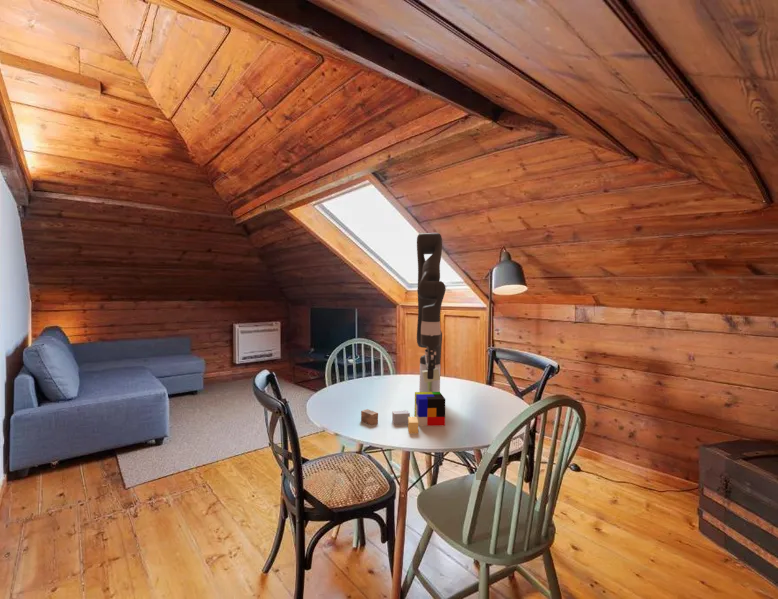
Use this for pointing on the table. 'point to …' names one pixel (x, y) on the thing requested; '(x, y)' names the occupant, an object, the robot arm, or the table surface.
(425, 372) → the cream brick
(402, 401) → the table surface
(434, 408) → the puzzle toy
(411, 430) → the mustard brick
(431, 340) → the robot arm
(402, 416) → the slate brick
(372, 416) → the walnut brick
